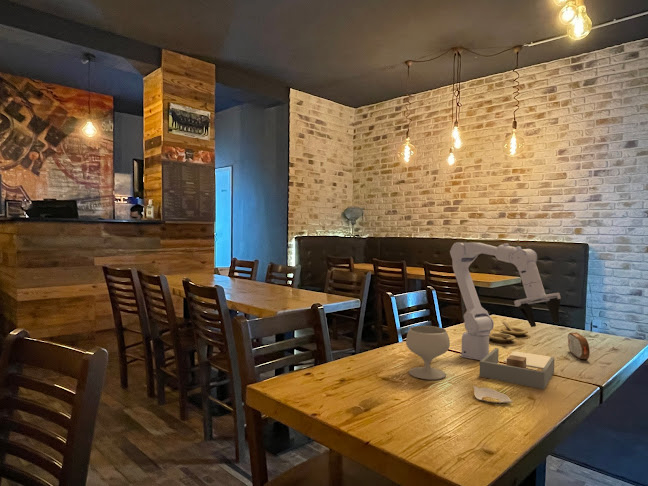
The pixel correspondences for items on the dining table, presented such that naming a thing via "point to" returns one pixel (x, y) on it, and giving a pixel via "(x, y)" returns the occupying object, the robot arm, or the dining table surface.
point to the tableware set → (508, 336)
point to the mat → (532, 359)
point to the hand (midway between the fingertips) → (545, 324)
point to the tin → (578, 345)
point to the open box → (515, 372)
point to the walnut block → (516, 361)
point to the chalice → (427, 349)
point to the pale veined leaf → (491, 395)
